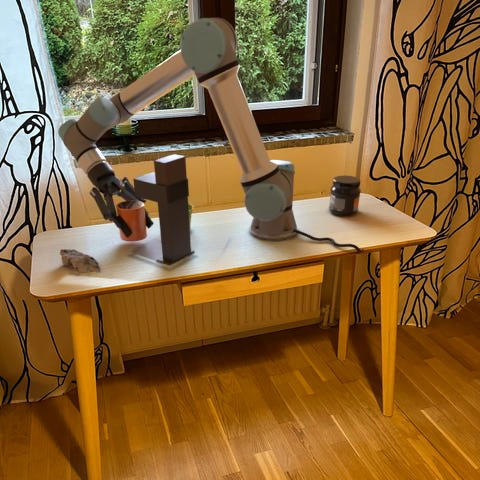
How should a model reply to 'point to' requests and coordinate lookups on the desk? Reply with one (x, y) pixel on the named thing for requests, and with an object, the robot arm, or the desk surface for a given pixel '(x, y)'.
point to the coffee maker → (167, 209)
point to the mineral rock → (79, 261)
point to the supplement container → (345, 195)
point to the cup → (133, 219)
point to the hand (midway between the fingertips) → (140, 230)
